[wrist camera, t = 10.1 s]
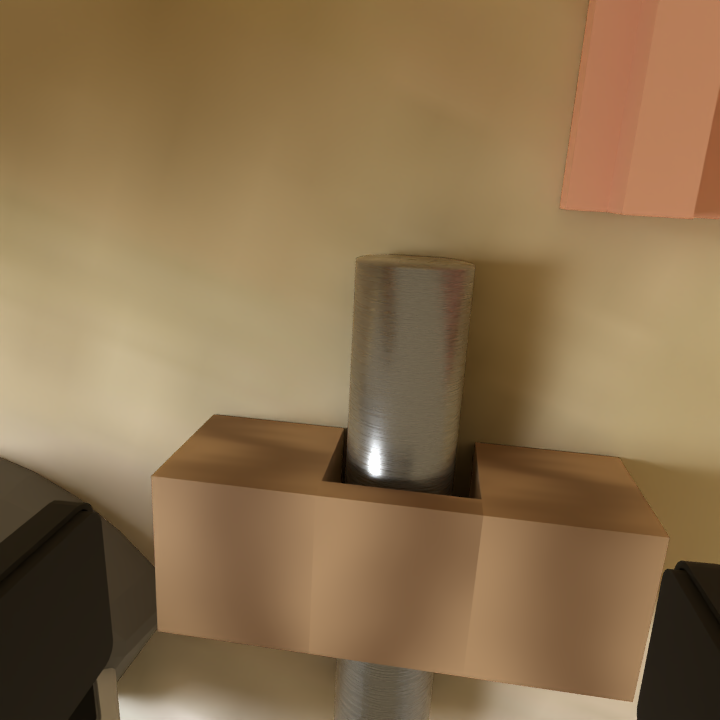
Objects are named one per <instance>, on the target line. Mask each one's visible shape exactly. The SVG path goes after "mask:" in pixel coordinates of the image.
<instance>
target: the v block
mask: <svg viewBox="0 0 720 720" xmlns="http://www.w3.org/2000/svg"><path fill="white" fill-rule="evenodd" d="M560 208H561V209H566V210H581V211H597V212H609V213H615V214H621V215H635V216H651V217H667V218H683V219H693V218H709V219H720V0H589V6H588V13H587V20H586V27H585V34H584V41H583V48H582V55H581V61H580V68H579V75H578V82H577V89H576V96H575V103H574V110H573V117H572V124H571V131H570V138H569V145H568V152H567V159H566V166H565V173H564V180H563V187H562V194H561V201H560Z"/></svg>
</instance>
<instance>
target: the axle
mask: <svg viewBox="0 0 720 720" xmlns="http://www.w3.org/2000/svg"><path fill="white" fill-rule="evenodd" d="M474 275H475V265H474V264H472V263H469V262H465V261H461V260H455V259H449V258H439V257H424V256H409V255H394V254H381V255H366V256H360V257H357V258H356V270H355V291H354V311H353V332H352V353H351V374H350V394H349V415H348V436H347V457H346V478H345V484H352V485H361V486H369V487H378V488H386V489H395V490H404V491H412V492H421V493H429V494H438V495H446V496H452V490H453V480H454V471H455V461H456V451H457V441H458V431H459V422H460V412H461V402H462V392H463V383H464V373H465V363H466V353H467V344H468V334H469V324H470V314H471V305H472V295H473V285H474ZM433 676H434V672H428V671H421V670H414V669H408V668H401V667H394V666H388V665H381V664H374V663H368V662H361V661H354V660H347V659H341V658H337V664H336V685H335V706H334V720H429V715H430V705H431V695H432V685H433Z"/></svg>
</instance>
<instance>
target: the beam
mask: <svg viewBox="0 0 720 720" xmlns="http://www.w3.org/2000/svg"><path fill="white" fill-rule="evenodd" d="M343 435H344V428H337V427H327V426H318V425H308V424H299V423H289V422H280V421H271V420H261V419H252V418H242V417H233V416H223V415H213V416H212V417H211V418H210V419H209V420H208V421H207V422H206V423H205V424H204V425H203V426H202V427H201V428H200V429H198V430H197V431H196V432H195V433H194V434H193V435H192V436H191V437H190V438H189V439H188V440H187V441H186V442H185V443H184V444H183V445H182V446H181V447H180V448H179V449H178V450H177V451H176V452H175V453H174V454H173V455H172V456H171V457H170V458H169V459H168V460H167V461H166V462H165V463H164V464H163V465H162V466H161V467H160V468H159V469H158V470H157V471H156V472H155V473H154V474H153V475H152V476H151V483H152V507H153V531H154V555H155V579H156V602H157V626H158V631H160V632H166V633H173V634H180V635H187V636H193V637H200V638H207V639H213V640H220V641H227V642H233V643H240V644H247V645H254V646H260V647H267V648H274V649H280V650H287V651H294V652H301V653H307V654H314V655H321V656H327V657H334V658H341V659H347V660H354V661H361V662H368V663H374V664H381V665H388V666H394V667H401V668H408V669H414V670H421V671H428V672H435V673H441V674H448V675H455V676H461V677H468V678H475V679H482V680H488V681H495V682H502V683H508V684H515V685H522V686H528V687H535V688H542V689H549V690H555V691H562V692H569V693H575V694H582V695H589V696H596V697H602V698H609V699H616V700H622V701H629V702H633V699H634V694H635V690H636V685H637V681H638V676H639V672H640V668H641V663H642V659H643V654H644V650H645V645H646V641H647V636H648V632H649V628H650V623H651V619H652V614H653V610H654V605H655V601H656V597H657V592H658V588H659V583H660V579H661V574H662V570H663V565H664V561H665V557H666V552H667V548H668V543H669V539H670V538H669V536H668V534H667V533H666V531H665V530H664V528H663V526H662V525H661V523H660V522H659V520H658V518H657V517H656V515H655V514H654V512H653V511H652V509H651V507H650V506H649V504H648V503H647V501H646V499H645V498H644V496H643V495H642V493H641V492H640V490H639V488H638V487H637V485H636V484H635V482H634V480H633V479H632V477H631V476H630V474H629V472H628V471H627V469H626V468H625V466H624V465H623V463H622V461H621V460H620V458H619V457H610V456H601V455H591V454H582V453H572V452H563V451H554V450H544V449H535V448H525V447H516V446H506V445H497V444H488V443H478V442H475V450H474V458H473V467H472V475H471V483H470V492H469V498H464V497H455V496H446V495H438V494H429V493H421V492H412V491H404V490H395V489H386V488H378V487H369V486H361V485H352V484H343V483H341V472H342V454H343Z"/></svg>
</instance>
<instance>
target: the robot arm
mask: <svg viewBox="0 0 720 720" xmlns="http://www.w3.org/2000/svg"><path fill="white" fill-rule="evenodd" d="M112 648H113V634H112V623H111V613H110V603H109V593H108V582H107V572H106V562H105V552H104V541H103V531H102V521H101V517H100V515H99V514H98V513H97V512H93V509H92V507H91V505H90V504H88V503H83V502H73V501H63V500H54V501H52V502H50V503H49V504H48V505H46V506H45V507H44V508H43V509H41V510H40V511H39V512H38V513H36V514H35V515H34V516H33V517H31V518H30V519H29V520H28V521H27V522H25V523H24V524H23V525H22V526H20V527H19V528H18V529H17V530H15V531H14V532H13V533H12V534H11V535H9V536H8V537H7V538H6V539H4V540H3V541H2V542H1V543H0V720H68V719H69V718H70V716H71V715H72V713H73V712H74V711H75V709H76V708H77V706H78V705H79V703H80V702H81V701H82V699H83V698H84V696H85V695H86V693H87V692H88V691H89V689H90V688H91V686H92V685H93V683H94V682H95V681H96V679H97V678H98V676H99V675H100V673H101V672H102V671H103V669H104V668H105V666H106V665H107V663H108V661H109V659H110V656H111V653H112ZM637 720H720V565H718V564H710V563H699V562H689V561H680V562H678V563H677V565H676V566H675V569H674V570H673V569H667V570H665V572H664V573H663V577H662V581H661V586H660V591H659V597H658V602H657V607H656V612H655V617H654V622H653V628H652V633H651V638H650V643H649V648H648V653H647V659H646V664H645V669H644V674H643V679H642V684H641V690H640V695H639V700H638V706H637Z"/></svg>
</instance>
